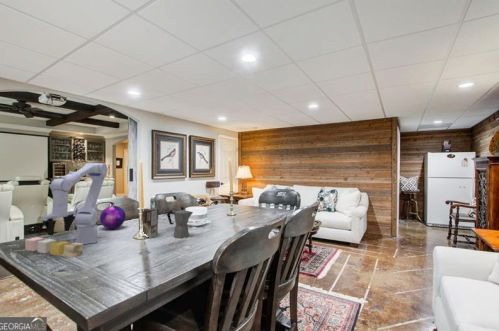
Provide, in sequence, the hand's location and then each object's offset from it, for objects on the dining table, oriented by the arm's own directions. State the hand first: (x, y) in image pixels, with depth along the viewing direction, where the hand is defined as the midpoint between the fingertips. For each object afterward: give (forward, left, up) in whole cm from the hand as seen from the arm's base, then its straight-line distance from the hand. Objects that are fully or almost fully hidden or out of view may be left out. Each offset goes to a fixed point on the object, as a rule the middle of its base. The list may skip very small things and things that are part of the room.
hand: (59, 233), depth 118 cm
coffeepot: (-59, 0, -10) cm, 60 cm away
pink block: (+9, -12, -10) cm, 18 cm away
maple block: (-6, +7, -10) cm, 13 cm away
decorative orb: (-28, -39, -10) cm, 49 cm away
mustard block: (-1, +1, -10) cm, 10 cm away
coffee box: (-43, -9, -10) cm, 45 cm away
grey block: (+4, -6, -10) cm, 12 cm away
